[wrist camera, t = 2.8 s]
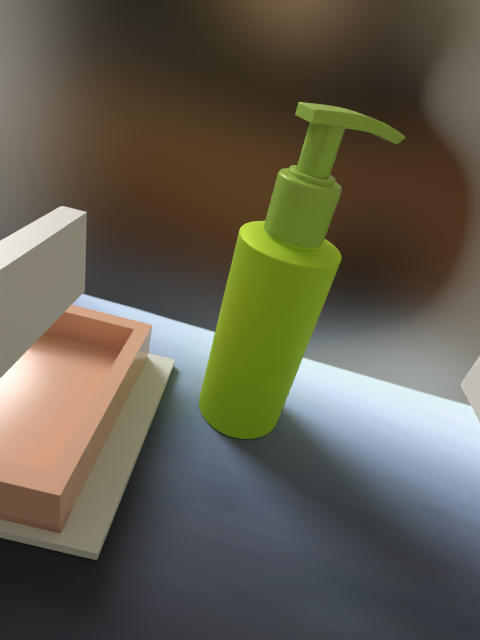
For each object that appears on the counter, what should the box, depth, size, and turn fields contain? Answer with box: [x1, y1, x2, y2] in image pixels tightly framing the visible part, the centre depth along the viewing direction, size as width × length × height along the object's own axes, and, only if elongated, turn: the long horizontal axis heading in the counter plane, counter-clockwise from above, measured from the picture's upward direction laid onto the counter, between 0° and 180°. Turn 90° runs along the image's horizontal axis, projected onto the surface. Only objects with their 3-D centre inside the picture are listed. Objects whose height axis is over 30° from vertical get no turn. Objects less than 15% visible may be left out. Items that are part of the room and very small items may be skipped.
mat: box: [0, 353, 175, 560], centre depth 26 cm, size 18×15×1 cm
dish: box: [0, 305, 152, 533], centre depth 25 cm, size 14×14×3 cm
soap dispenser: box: [199, 102, 405, 439], centre depth 25 cm, size 6×7×20 cm
